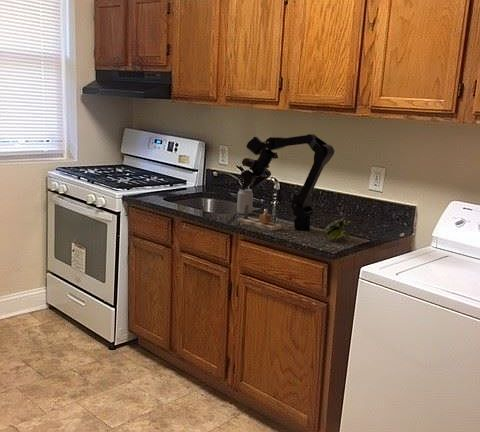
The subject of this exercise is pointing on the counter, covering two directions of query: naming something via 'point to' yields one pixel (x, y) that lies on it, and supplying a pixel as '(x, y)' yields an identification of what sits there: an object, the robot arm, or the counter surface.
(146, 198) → the counter surface
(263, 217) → the orange slider block
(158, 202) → the counter surface
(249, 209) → the can
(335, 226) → the green leafy plant
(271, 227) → the bolt plate
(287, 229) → the counter surface
